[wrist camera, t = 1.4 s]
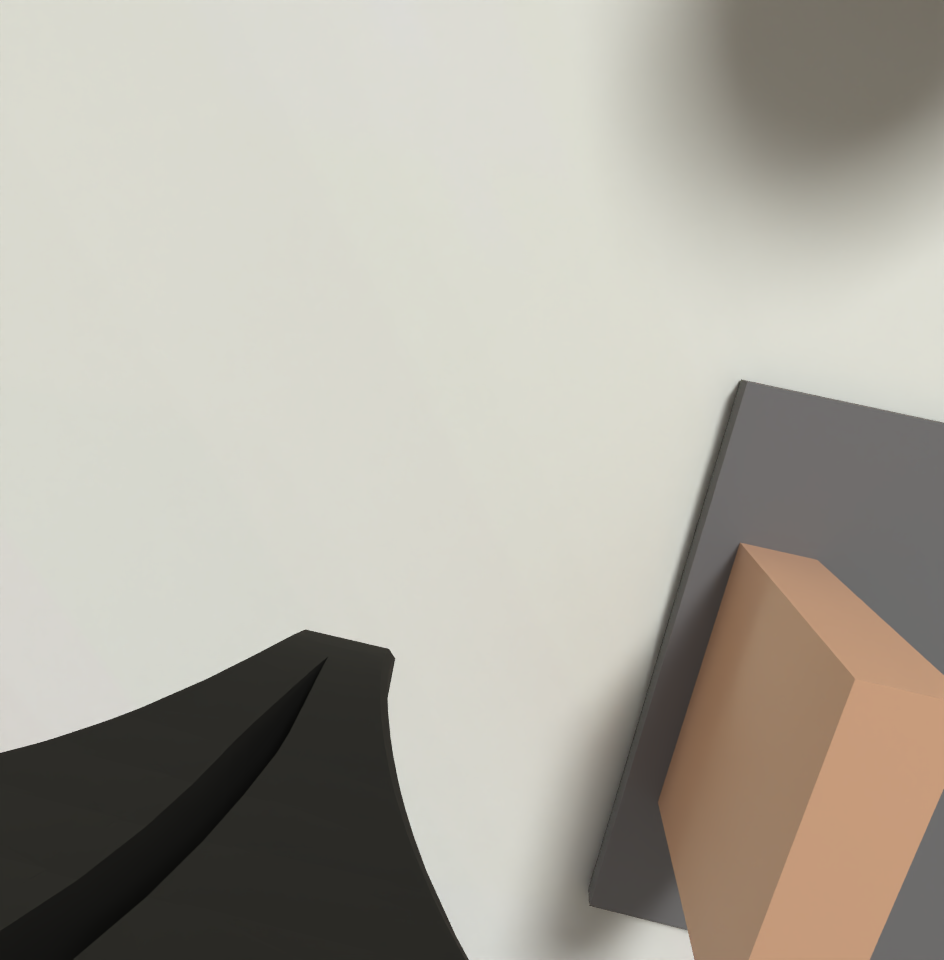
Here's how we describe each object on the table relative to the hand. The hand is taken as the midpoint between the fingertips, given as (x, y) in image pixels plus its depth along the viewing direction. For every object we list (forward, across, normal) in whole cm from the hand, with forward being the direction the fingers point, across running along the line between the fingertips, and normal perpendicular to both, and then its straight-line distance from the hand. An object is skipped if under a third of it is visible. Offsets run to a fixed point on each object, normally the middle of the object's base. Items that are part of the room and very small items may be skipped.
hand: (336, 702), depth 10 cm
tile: (+9, -9, +3) cm, 13 cm away
